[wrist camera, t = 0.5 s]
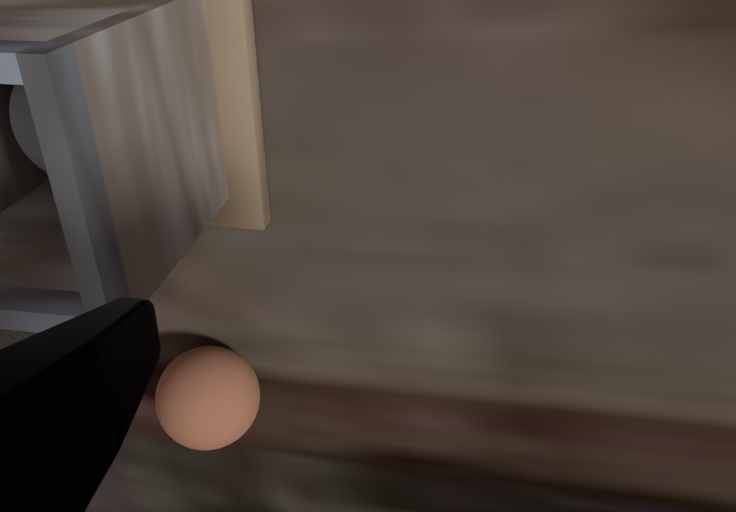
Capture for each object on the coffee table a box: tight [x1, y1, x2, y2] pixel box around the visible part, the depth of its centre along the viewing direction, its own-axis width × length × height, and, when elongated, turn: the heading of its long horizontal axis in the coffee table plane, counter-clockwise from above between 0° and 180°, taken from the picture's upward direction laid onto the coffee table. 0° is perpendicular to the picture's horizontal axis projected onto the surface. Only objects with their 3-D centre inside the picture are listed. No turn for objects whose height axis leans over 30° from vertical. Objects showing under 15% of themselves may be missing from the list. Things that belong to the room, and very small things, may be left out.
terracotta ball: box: [155, 346, 260, 450], centre depth 26 cm, size 4×4×4 cm
